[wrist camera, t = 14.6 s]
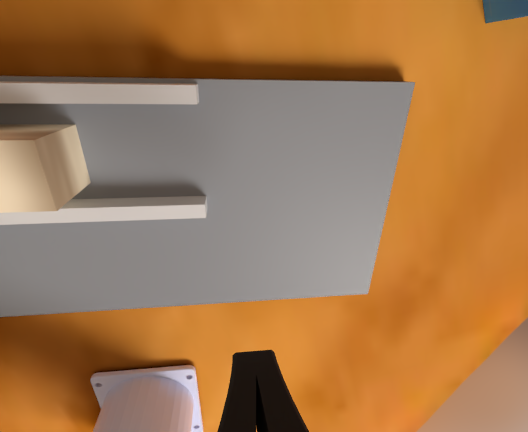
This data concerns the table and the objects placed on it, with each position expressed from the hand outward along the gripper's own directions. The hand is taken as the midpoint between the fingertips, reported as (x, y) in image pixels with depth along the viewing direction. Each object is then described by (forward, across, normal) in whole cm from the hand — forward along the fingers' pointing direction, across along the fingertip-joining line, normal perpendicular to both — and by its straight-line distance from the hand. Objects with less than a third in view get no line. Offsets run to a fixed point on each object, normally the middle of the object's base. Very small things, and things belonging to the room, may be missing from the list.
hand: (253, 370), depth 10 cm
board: (+10, +6, -2) cm, 12 cm away
